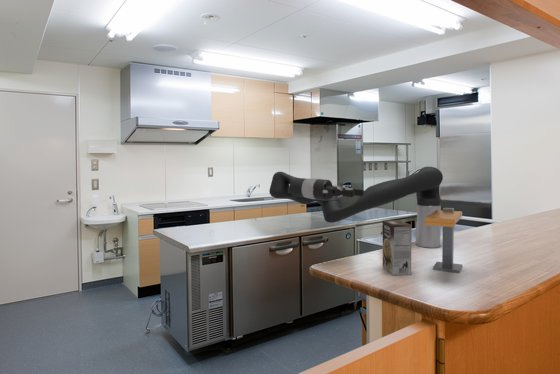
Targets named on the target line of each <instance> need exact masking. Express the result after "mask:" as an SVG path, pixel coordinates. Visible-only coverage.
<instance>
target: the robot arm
mask: <svg viewBox="0 0 560 374" xmlns="http://www.w3.org/2000/svg"><path fill="white" fill-rule="evenodd" d="M443 177H444V175H443V173H442V171H441V170H440V169H439V168H437V167H434V166H424V167H421V168H420V169H419V170H417V172H415V173H412V174H411V175H408V176H405V177H401V178H396V179H390V180H386V181H382V182H380V183H376V184H373V185H370V186H368V187H367V188H366V189H365V190H364V189H357V188H354V187H348V186H341V185H336V184H335V185H333V183H332V181H331V180H330V179H322V178H304V177H303V178H302V177H297V176H293V175H291V174H288V173H287V172H284V171H276V172H274V174H273V175H272V179H271V184H270V186H269V194H270V196H271V197H272V198H274V199H278V200H280V199H283V200H284V199H285V200H291V201H294V202H297V203H298V204H301V205H309V204H312V203H317V204H319V205H320V206H321V212H322V214H323V219H324V221H325V222H326V223H329V224H333V223H337V222H338V223H339V222H340V221H342V220H345V219H348V218H350V217H352V216H355V215H357V214H359V213H362V212H365V211H368V210H371V209H374V208H377V207H378V208H379V207H381V206H383V205H387V204H390V203H392V202H395V201H398V200H400V199H403V198H404V197H408V196H409V195H413V194H415V195H416V203H417V204H416V222H415V244H416V246H418V247H421V248H432V249H434V248H435V249H436V248H440V247H441V230H442V229H441V228H442V226H430V225H425V218H426V217H427V216H429V215H430V214H431V213H433V212H434V211H436V210H440V211H442V210H441V205H442V202H441V201H442V199H441V196H440V195H441V193H440V186H441V184H442V183H443V180H444V178H443ZM355 196H356V197H357V198H356V199H355V200H354V201H352V202H351V203H350V204H348V205H345V206H344V205H343V202H342V199H341V197H346V198H353V197H355Z"/></svg>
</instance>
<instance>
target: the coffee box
mask: <svg viewBox="0 0 560 374" xmlns="http://www.w3.org/2000/svg"><path fill="white" fill-rule="evenodd" d="M412 226H413V225H412V224H410V223H407V222H405V221H402V220H392V219H391V220H382V268H383V269H385V270H386V271H387V272H388V273H389V274H391V275H392V276H402V275H404V274H409V275H412V243H413V242H412V234H413V233H412V231H413V230H412V229H413V228H412ZM404 276H405V275H404Z"/></svg>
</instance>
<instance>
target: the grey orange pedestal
mask: <svg viewBox="0 0 560 374" xmlns="http://www.w3.org/2000/svg"><path fill="white" fill-rule="evenodd" d="M462 217H463V211H461V210H460V211H457V210H455V208H454V207H444V208H442V210H441V211H440V210H436V211H434V212H433V213H431V214H430V215H429V216H427V217H426V218H425V225H430V226H441V227H442V238H441V239H442V246H441V247H442V249H441V251H442V254H441V256H442V258H441V261H436V262H435V264H434V265H433V266H432V270H434V271H440V270H442V272H448V273H449V272H450V273H458V274H460V273H461V271H462V268H463V264H461V263H455V262H454V252H455V251H454V247H455V246H454V244H455V243H454V236H455V234H454V233H455V232H454V231H455V226H456V224H457V222H459V221H460V220H461V218H462Z"/></svg>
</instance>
